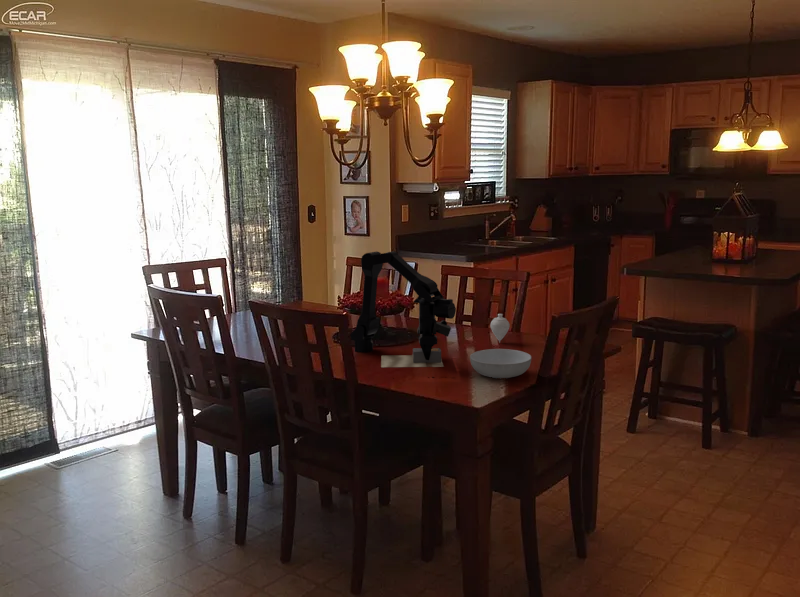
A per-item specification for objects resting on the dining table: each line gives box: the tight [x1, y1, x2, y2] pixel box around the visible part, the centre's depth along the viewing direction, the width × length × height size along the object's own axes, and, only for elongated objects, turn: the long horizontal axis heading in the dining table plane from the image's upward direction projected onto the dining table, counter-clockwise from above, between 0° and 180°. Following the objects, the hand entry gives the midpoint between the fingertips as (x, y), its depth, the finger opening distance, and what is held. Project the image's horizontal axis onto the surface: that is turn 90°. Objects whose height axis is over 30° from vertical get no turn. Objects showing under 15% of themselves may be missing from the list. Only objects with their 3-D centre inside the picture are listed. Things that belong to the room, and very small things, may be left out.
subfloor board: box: [380, 354, 445, 368], centre depth 262 cm, size 22×16×2 cm
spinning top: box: [490, 313, 511, 344], centre depth 294 cm, size 8×8×12 cm
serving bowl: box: [469, 348, 532, 380], centre depth 249 cm, size 21×21×7 cm
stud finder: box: [412, 347, 442, 363], centre depth 262 cm, size 10×5×4 cm, turn 91°
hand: (427, 358), depth 262 cm, fingers closed on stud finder, 5 cm apart
